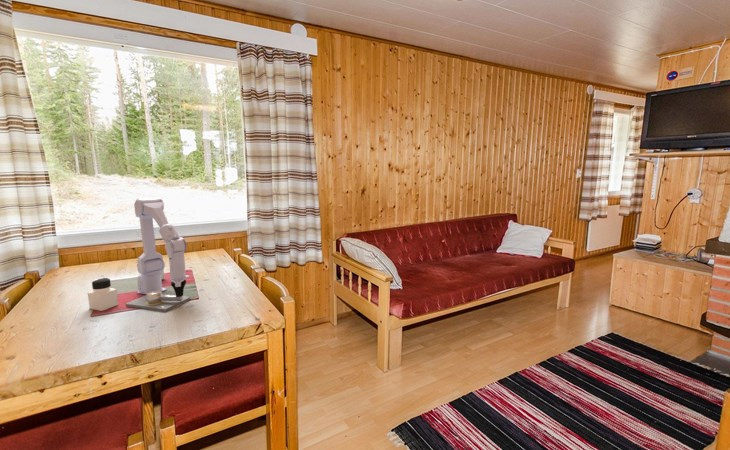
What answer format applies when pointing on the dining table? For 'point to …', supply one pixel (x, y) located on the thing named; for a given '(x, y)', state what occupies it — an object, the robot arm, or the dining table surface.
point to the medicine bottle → (102, 295)
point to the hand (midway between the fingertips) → (179, 297)
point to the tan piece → (161, 297)
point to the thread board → (160, 306)
